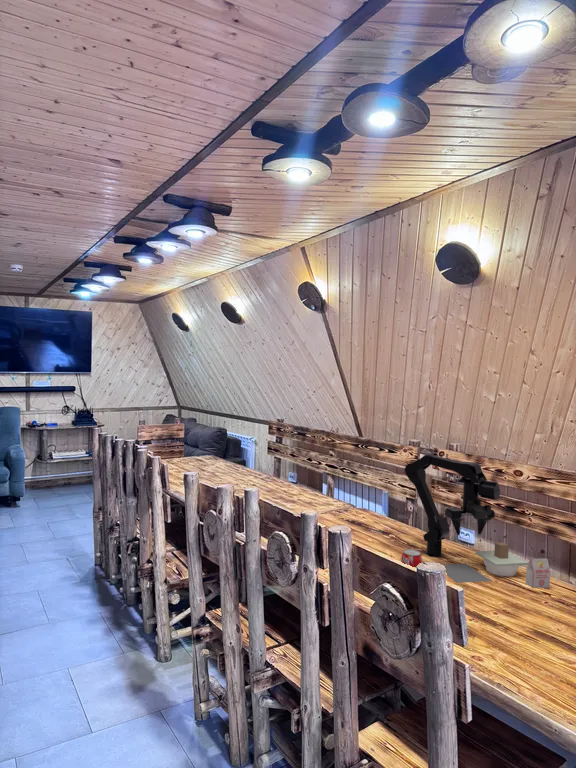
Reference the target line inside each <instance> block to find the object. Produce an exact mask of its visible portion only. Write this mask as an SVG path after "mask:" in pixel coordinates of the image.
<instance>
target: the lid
mask: <svg viewBox="0 0 576 768" xmlns="http://www.w3.org/2000/svg"><path fill="white" fill-rule="evenodd" d="M474 554H475V555H477V556H478V557H480V558H482V559H483V560H484V559H485V560H487V561H488V562H490V563H492V564H493V565H495V566H514V565H519V566H528V564H529V562H528V561H526V560H525V559H523V558H521V557H519V556H518V555H516V554H514V553H512V552H510V551H509V544H507V543H506V542H503V541H499V542H497V541H495V542H494V550H477V551H474Z"/></svg>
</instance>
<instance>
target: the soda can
mask: <svg viewBox="0 0 576 768" xmlns="http://www.w3.org/2000/svg"><path fill="white" fill-rule="evenodd" d="M421 554H422V553H421V551H420V550H417V549H413V548H412V549H411V548H410V549H409V548H407V549H404V550H403V553H402V555H401V561H400V562H402V563H404V564H407V565H410V566H412V567H416V566H417V565H418V564H419V563H422V564H423V557H422V555H421Z"/></svg>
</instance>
